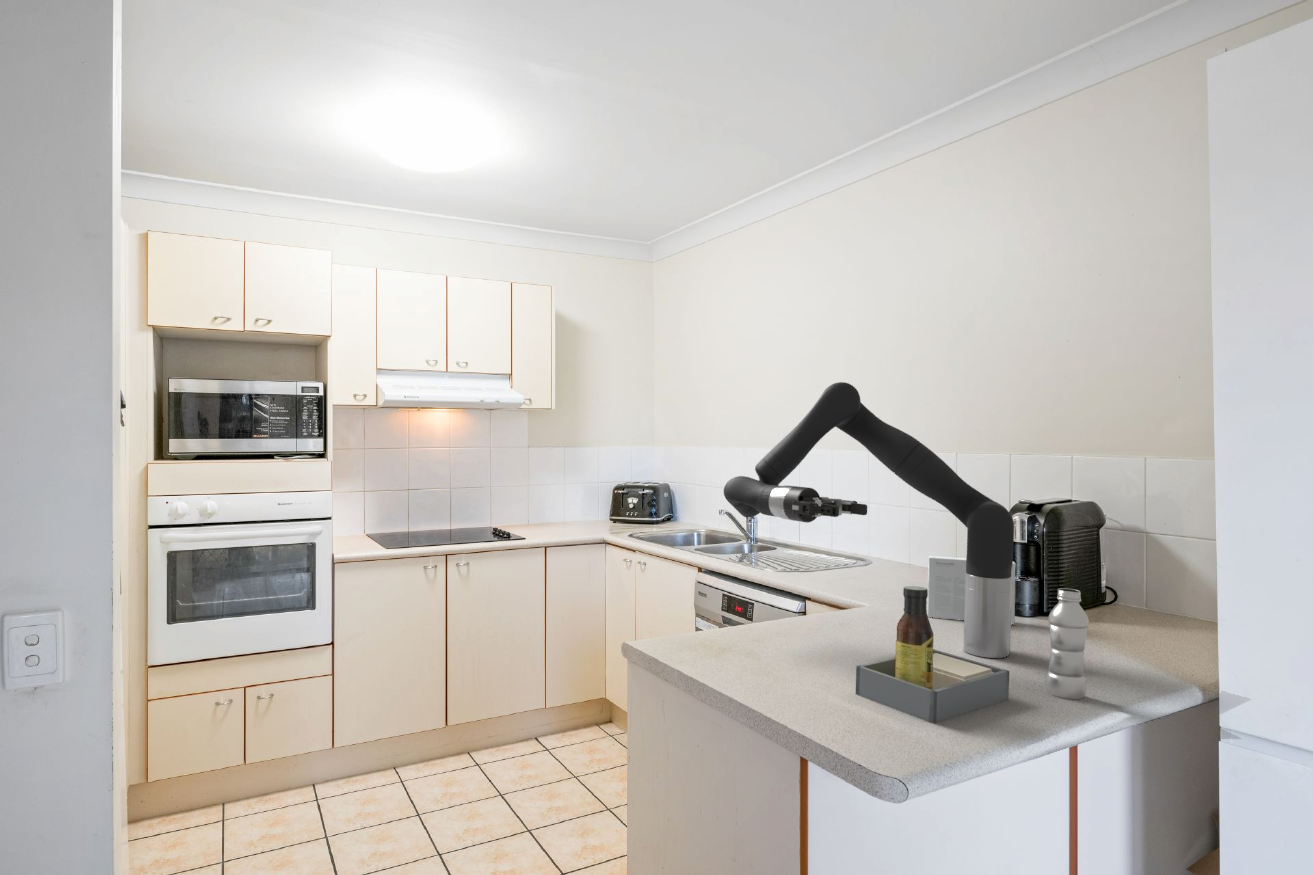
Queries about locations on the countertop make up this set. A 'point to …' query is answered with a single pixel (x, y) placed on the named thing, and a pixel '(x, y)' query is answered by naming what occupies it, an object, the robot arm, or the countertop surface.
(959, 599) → the skincare box
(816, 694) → the countertop surface
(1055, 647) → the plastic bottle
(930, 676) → the sauce bottle
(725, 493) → the robot arm
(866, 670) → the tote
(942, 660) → the cream rectangular box
